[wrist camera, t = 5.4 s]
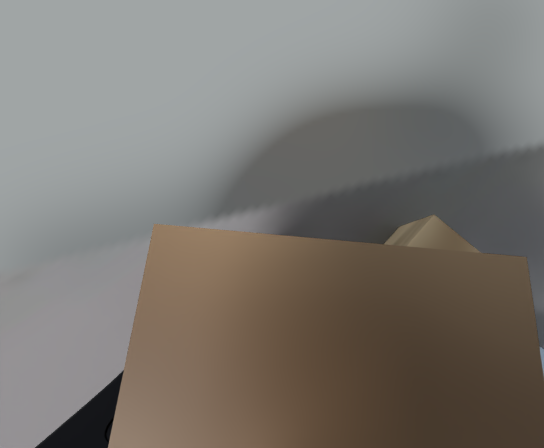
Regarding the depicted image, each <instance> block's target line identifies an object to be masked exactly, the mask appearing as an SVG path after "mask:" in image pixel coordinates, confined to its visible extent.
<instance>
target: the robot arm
mask: <svg viewBox="0 0 544 448" xmlns="http://www.w3.org/2000/svg"><path fill="white" fill-rule="evenodd" d="M123 372H124V370H123V371H122V372H121V373H120V374H119V375H118V376H117V377H116V378H115V379H114V380H113V381H112V382H111V383H110V384H108V385H107V386H106V387H105V388H104V389H103V390H102V391H101V392H99V393H98V394H97V395H96V396H95V397H94V398H93V399H91V400H90V401H89V402H88V403H87V404H86V405H84V406H83V407H82V408H81V409H80V410H79V411H77V412H76V413H75V414H74V415H73V416H72V417H70V418H69V419H68V420H67V421H66V422H65V423H63V424H62V425H61V426H60V427H59V428H58V429H56V430H55V431H54V432H53V433H52V434H51V435H49V436H48V437H47V438H46V439H45V440H44V441H42V442H41V443H40V444H39V445H38V446H36V447H35V448H108V445H109V440H110V435H111V430H112V425H113V420H114V416H115V411H116V406H117V401H118V396H119V391H120V386H121V382H122V377H123Z"/></svg>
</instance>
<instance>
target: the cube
mask: <svg viewBox="0 0 544 448" xmlns="http://www.w3.org/2000/svg"><path fill="white" fill-rule="evenodd" d="M384 244H386V245H397V246H409V247H420V248H431V249H443V250H454V251H465V252H476V253H481V252H479V251H478V250H477V249H476V248H474V247H473V246H472V245H471V244H470V243H468V242H467V241H466V240H465V239H463V238H462V237H461V236H460V235H459V234H457V233H456V232H455V231H454V230H453V229H451V228H450V227H449V226H448V225H446V224H445V223H444V222H443V221H442V220H440V219H439V218H438V217H437V216H435V215H431V216H428V217H425V218H422V219H420V220H417V221H414V222H411V223H408V224H405V225H402V226H400V227H399V228H398V229H397V230H396V231H395V232H394V233H393V234H392V235H391V237H390V238H389V239H388V240H387V241H386V242H385V243H384Z"/></svg>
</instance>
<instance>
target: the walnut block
mask: <svg viewBox="0 0 544 448" xmlns="http://www.w3.org/2000/svg"><path fill="white" fill-rule="evenodd" d="M108 448H544V375H543V368H542V361H541V354H540V347H539V340H538V333H537V326H536V319H535V312H534V305H533V298H532V291H531V284H530V277H529V270H528V263H527V257H522V256H510V255H499V254H488V253H476V252H465V251H454V250H443V249H431V248H420V247H409V246H397V245H386V244H375V243H364V242H352V241H341V240H330V239H318V238H307V237H296V236H284V235H273V234H262V233H251V232H239V231H228V230H217V229H205V228H194V227H183V226H172V225H160V224H154V227H153V231H152V236H151V241H150V246H149V251H148V256H147V260H146V265H145V270H144V275H143V280H142V285H141V290H140V294H139V299H138V304H137V309H136V314H135V319H134V323H133V328H132V333H131V338H130V343H129V348H128V353H127V357H126V362H125V367H124V372H123V377H122V382H121V386H120V391H119V396H118V401H117V406H116V411H115V416H114V420H113V425H112V430H111V435H110V440H109V445H108Z"/></svg>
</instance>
